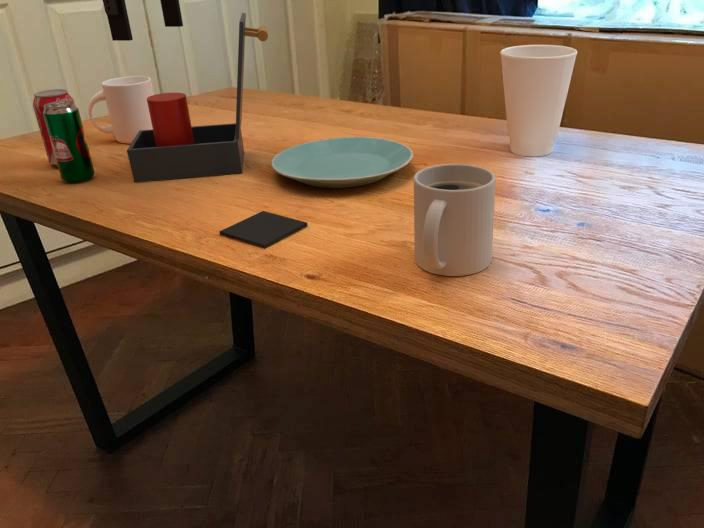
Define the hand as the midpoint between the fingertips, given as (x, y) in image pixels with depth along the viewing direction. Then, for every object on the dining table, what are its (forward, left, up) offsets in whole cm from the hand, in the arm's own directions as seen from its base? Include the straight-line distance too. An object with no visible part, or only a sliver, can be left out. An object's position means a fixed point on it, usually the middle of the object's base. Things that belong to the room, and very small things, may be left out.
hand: (150, 33), depth 97 cm
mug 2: (+17, -51, -22) cm, 58 cm away
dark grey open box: (+3, +2, -21) cm, 22 cm away
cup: (+53, -25, -22) cm, 63 cm away
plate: (+22, -16, -22) cm, 35 cm away
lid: (+12, -2, -7) cm, 14 cm away
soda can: (-14, +7, -22) cm, 27 cm away
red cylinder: (+1, +3, -21) cm, 21 cm away
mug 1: (-2, +26, -22) cm, 34 cm away
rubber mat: (+3, -30, -21) cm, 37 cm away
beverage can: (-14, +17, -22) cm, 31 cm away
